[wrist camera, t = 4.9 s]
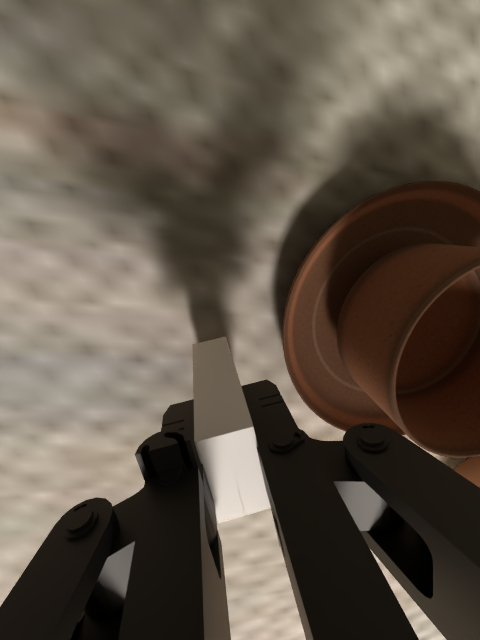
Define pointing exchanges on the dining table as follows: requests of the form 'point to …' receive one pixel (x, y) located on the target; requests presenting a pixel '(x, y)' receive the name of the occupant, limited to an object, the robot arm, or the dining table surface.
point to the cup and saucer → (394, 318)
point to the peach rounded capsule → (470, 469)
